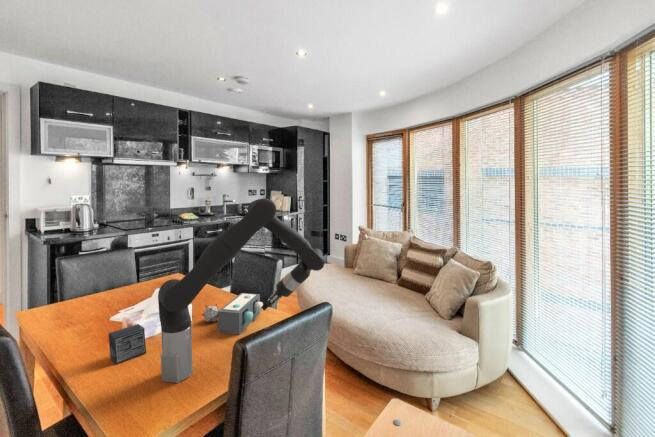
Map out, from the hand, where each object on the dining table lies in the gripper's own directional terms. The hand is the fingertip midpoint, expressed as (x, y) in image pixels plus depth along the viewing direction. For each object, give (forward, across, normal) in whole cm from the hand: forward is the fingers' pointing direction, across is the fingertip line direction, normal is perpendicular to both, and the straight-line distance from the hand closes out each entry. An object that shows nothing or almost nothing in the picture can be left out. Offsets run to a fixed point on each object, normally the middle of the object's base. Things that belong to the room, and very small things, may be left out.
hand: (263, 308), depth 142 cm
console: (+17, -6, -2) cm, 18 cm away
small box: (+38, +30, -22) cm, 53 cm away
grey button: (+10, -12, 0) cm, 16 cm away
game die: (+27, -4, -12) cm, 30 cm away
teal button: (+10, 0, 0) cm, 10 cm away
